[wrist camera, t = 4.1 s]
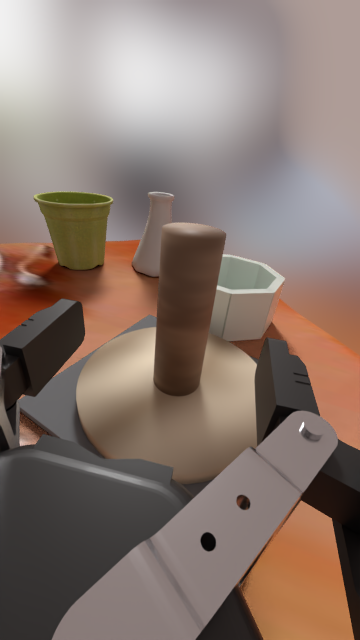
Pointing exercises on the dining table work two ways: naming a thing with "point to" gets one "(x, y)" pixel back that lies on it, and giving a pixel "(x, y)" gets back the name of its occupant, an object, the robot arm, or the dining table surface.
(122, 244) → the dining table surface
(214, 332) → the bowl
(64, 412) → the mat
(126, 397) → the lid
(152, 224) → the flask
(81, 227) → the plant pot
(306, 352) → the dining table surface
